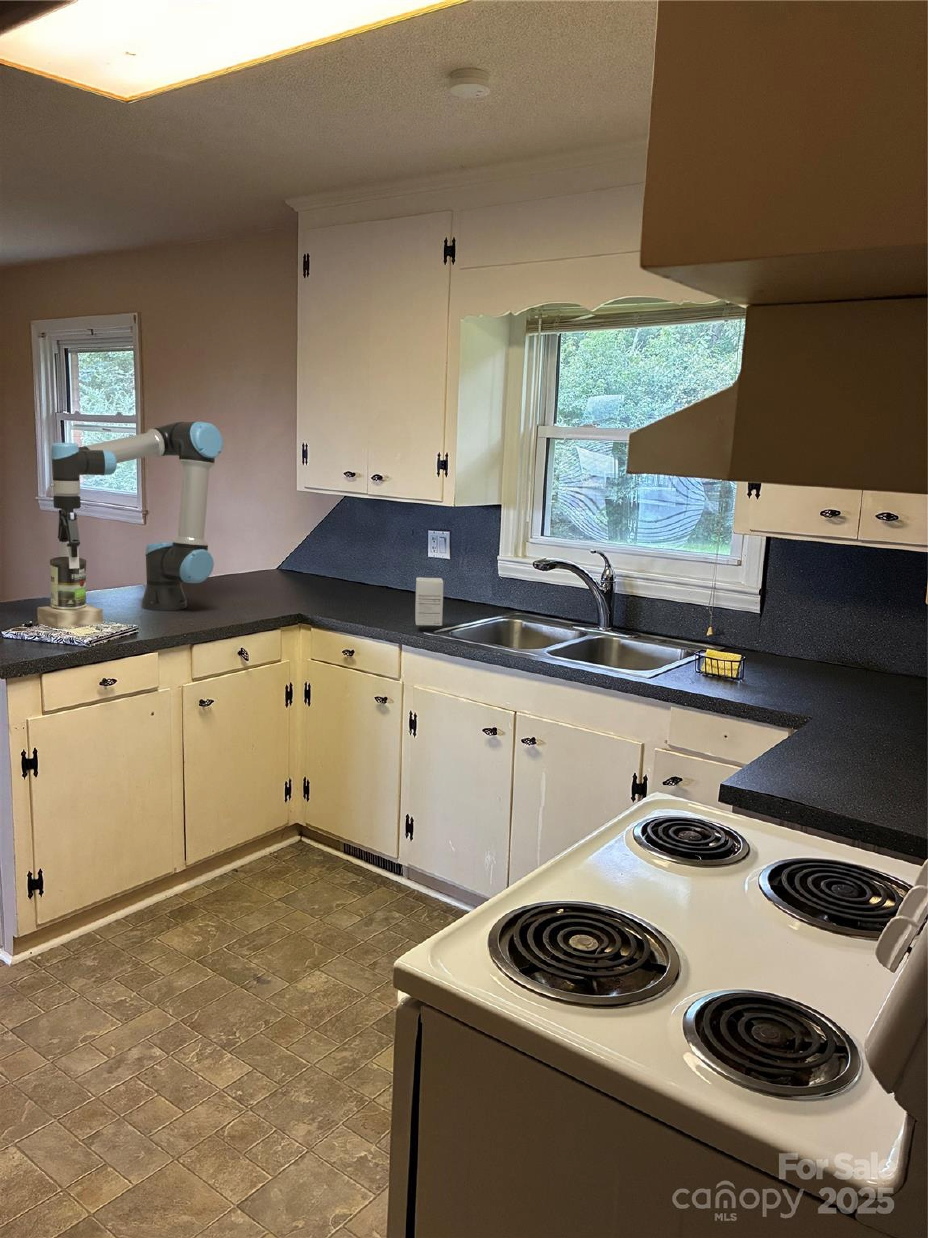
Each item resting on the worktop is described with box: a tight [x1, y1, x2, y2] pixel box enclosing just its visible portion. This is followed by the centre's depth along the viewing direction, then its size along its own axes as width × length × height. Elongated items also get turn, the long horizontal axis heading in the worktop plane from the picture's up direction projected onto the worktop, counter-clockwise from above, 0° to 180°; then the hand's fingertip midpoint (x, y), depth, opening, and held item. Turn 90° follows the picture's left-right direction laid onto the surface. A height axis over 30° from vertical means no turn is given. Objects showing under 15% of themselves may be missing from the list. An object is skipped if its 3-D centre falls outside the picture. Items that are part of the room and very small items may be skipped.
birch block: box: [36, 604, 104, 629], centre depth 287 cm, size 14×14×6 cm
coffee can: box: [49, 556, 87, 609], centre depth 286 cm, size 10×10×14 cm
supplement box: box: [414, 576, 444, 626], centre depth 313 cm, size 9×9×15 cm
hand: (69, 565), depth 284 cm, fingers open, 13 cm apart
